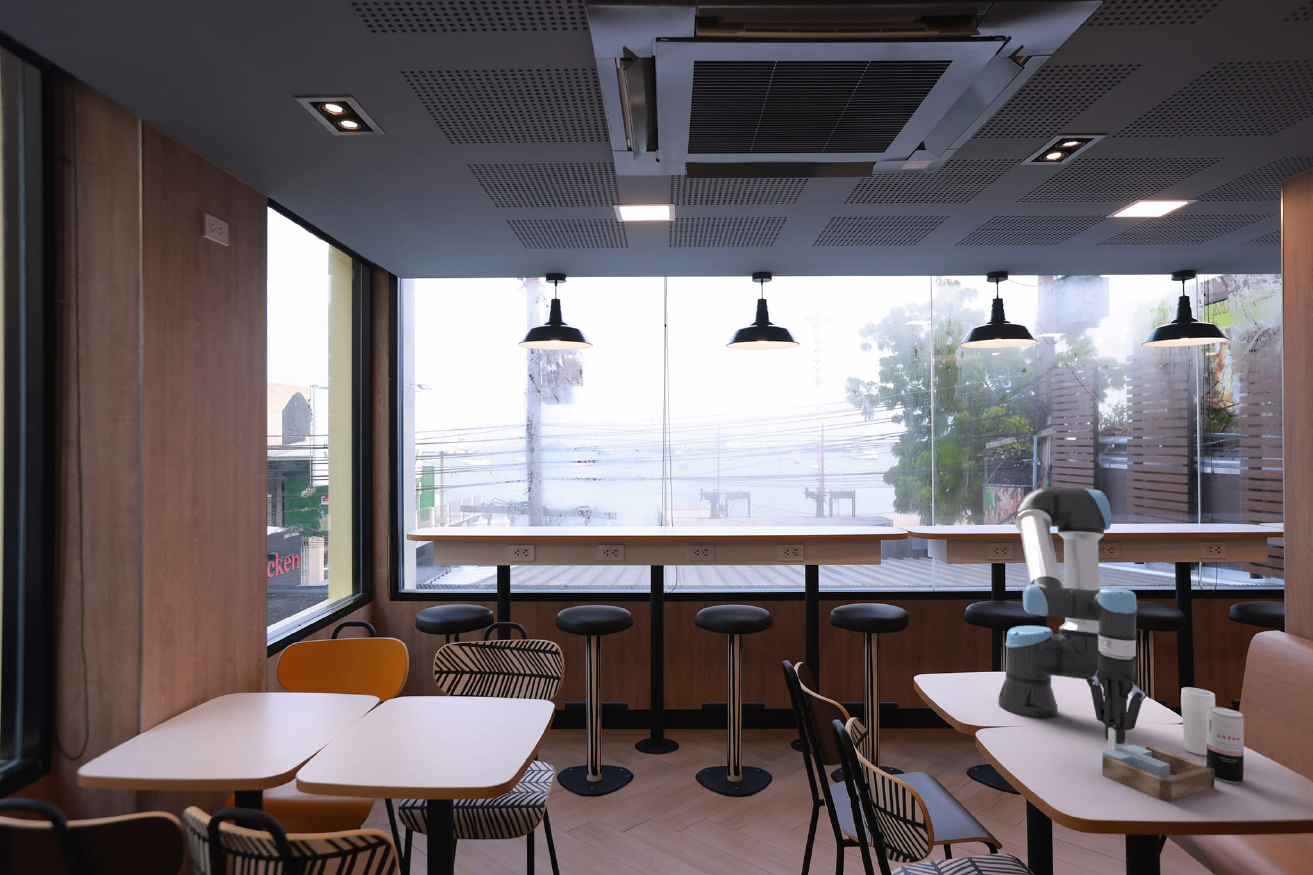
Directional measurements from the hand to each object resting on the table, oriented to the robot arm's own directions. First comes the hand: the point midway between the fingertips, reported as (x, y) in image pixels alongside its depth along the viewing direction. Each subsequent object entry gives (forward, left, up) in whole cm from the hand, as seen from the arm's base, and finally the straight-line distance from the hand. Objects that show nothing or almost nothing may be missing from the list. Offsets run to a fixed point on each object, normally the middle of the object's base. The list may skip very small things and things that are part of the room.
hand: (1114, 755), depth 165 cm
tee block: (+6, 0, -2) cm, 6 cm away
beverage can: (+14, +18, -2) cm, 23 cm away
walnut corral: (+9, 0, -2) cm, 9 cm away
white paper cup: (+3, +29, -2) cm, 29 cm away
